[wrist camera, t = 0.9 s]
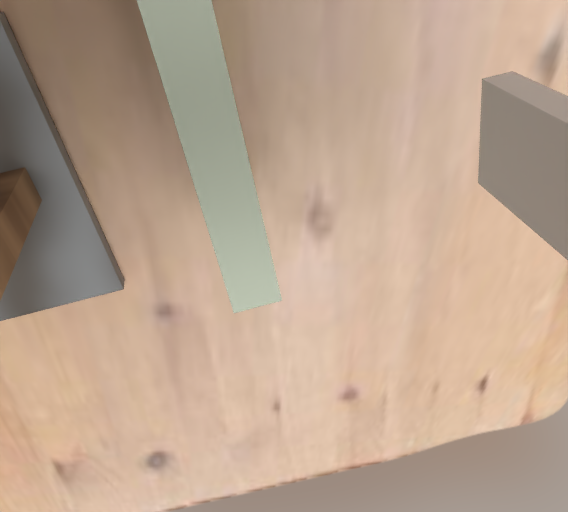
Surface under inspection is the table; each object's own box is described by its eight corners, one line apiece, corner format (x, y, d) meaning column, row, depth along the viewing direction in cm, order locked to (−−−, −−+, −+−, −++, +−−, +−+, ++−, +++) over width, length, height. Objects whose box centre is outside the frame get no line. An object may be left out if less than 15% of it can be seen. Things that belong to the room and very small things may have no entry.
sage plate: (121, -126, 22) (89, -152, 12) (167, -136, 22) (171, -169, 13) (211, 184, 31) (234, 313, 21) (244, 175, 31) (282, 300, 21)
